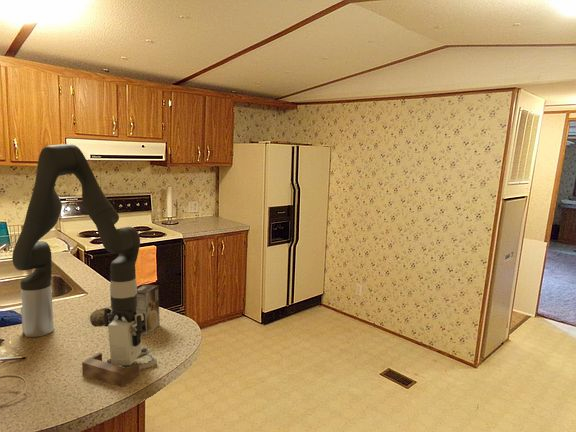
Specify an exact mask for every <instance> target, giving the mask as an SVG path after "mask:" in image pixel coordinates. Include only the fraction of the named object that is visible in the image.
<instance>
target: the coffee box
mask: <svg viewBox="0 0 576 432" xmlns="http://www.w3.org/2000/svg"><path fill="white" fill-rule="evenodd" d="M159 289H160V286H159V285H157V284H156V285H154V284H142V285H140V286H139V287H137V307H136V312H137V314H142V313H144V314H145V319H146V332H144V333H142V334H141V335H144V336H145V335H146V336H148V335H150V333H152V332H153V331H154V330H155V329H156V328H157V327H159V326H160V323H161V322H160V291H159ZM141 328H142V327H141Z"/></svg>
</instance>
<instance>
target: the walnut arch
mask: <svg viewBox="0 0 576 432" xmlns="http://www.w3.org/2000/svg"><path fill="white" fill-rule="evenodd" d="M139 364H140V363H138V362H135V363H134V364H131V365H130V366H131V367H129V368H125V367H126V366H122V365H114V364H111V363H107V361H103V353H101V352H98V353H96V354H94V355H93V356H90V357H89V358H88V359H86V360H84V361H82V362H81V368H82V369H81V370H82V375H83V376H86V377H87V378H92V379H95V380H99V381H102V382H105V383H108V384H112V385H114V386H119V387H122V388H125V387H126V386H127V385H128V384H130V383H132V382H133V381H134V380H136V379H137V378H139V377H140V369H139Z"/></svg>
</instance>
